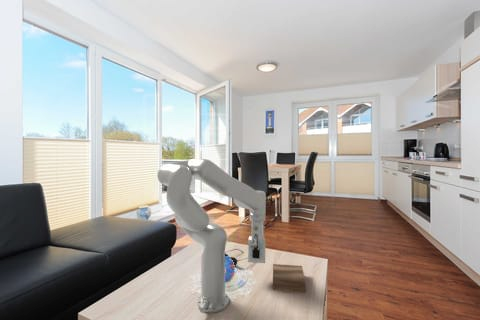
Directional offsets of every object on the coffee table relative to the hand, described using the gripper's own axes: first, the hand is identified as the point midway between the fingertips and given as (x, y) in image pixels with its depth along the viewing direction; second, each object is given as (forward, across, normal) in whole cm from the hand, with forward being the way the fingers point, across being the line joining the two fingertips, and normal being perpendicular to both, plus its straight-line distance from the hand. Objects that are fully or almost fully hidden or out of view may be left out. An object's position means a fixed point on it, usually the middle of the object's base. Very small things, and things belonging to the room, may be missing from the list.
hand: (256, 254), depth 107 cm
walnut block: (+12, +1, -15) cm, 19 cm away
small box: (+3, 0, 0) cm, 3 cm away
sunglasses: (+12, +20, +12) cm, 26 cm away
